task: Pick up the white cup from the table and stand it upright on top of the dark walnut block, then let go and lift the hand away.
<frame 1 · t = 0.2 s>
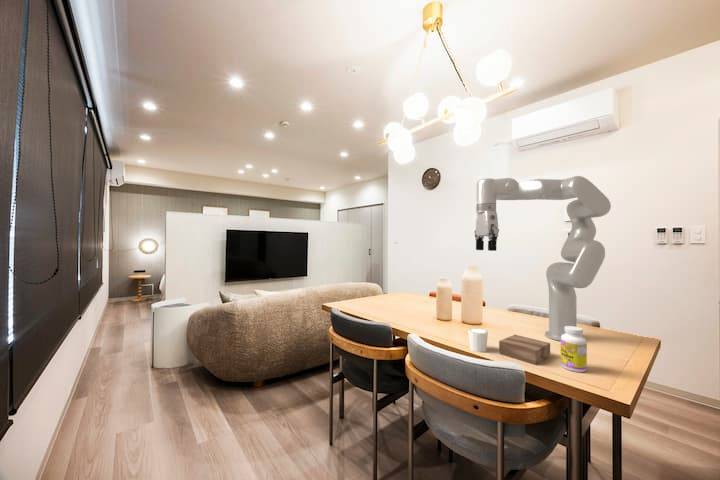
hand: (485, 250, 120), 37 cm above the table, tool pointing down, fingers open, 9 cm apart
supplement bottle: (573, 369, 92), on the table
white cup: (477, 349, 109), on the table
walnut block: (524, 356, 103), on the table
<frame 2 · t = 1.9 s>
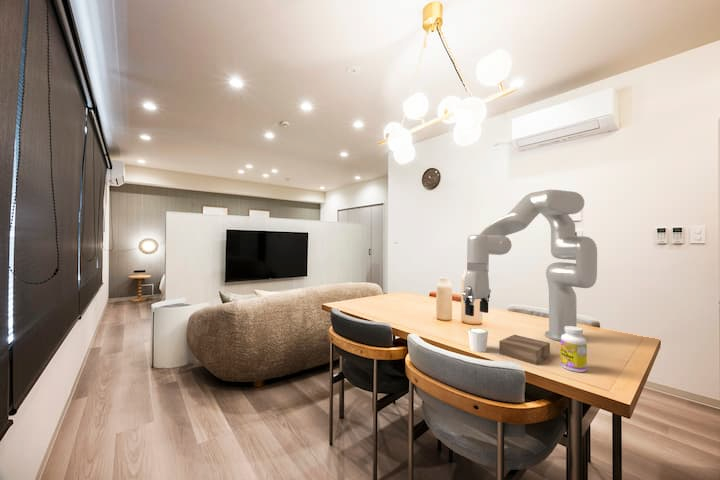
hand: (476, 313, 109), 13 cm above the table, tool pointing down, fingers open, 9 cm apart
nothing on the table moved.
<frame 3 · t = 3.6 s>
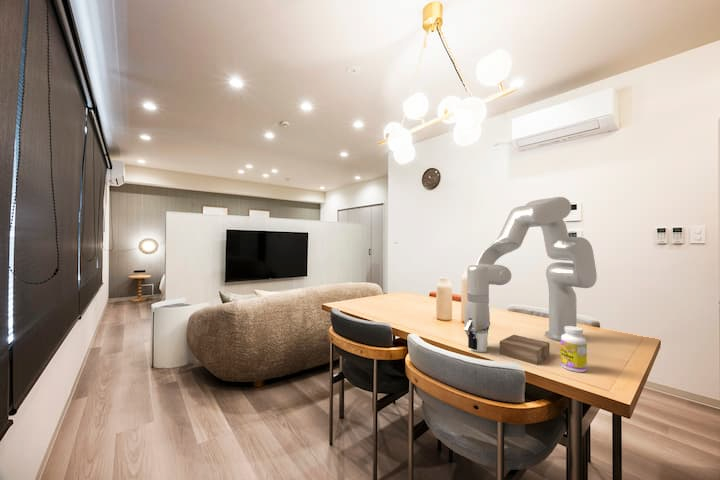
hand: (477, 346, 109), 1 cm above the table, tool pointing down, fingers closed on white cup, 6 cm apart
white cup: (477, 349, 109), on the table, touching gripper
everything else where it was.
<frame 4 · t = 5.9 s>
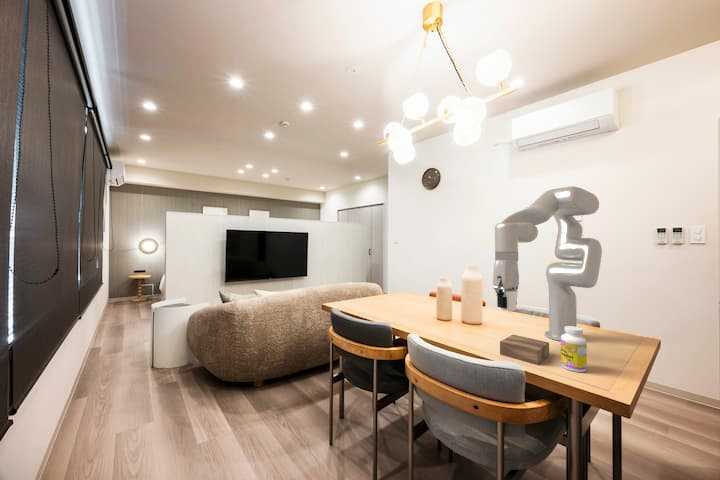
hand: (507, 305, 105), 17 cm above the table, tool pointing down, fingers closed on white cup, 6 cm apart
white cup: (507, 309, 105), point 16 cm above the table, touching gripper
everything else where it was.
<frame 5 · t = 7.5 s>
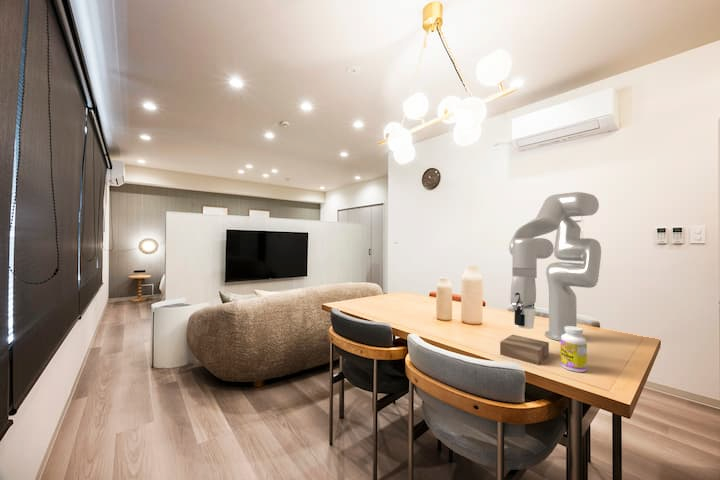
hand: (524, 323, 103), 11 cm above the table, tool pointing down, fingers closed on white cup, 6 cm apart
white cup: (524, 327, 103), point 10 cm above the table, touching gripper
everything else where it was.
when the fingers open (7 cm above the table, at t = 8.7 s): white cup drops 2 cm, point 4 cm above the table.
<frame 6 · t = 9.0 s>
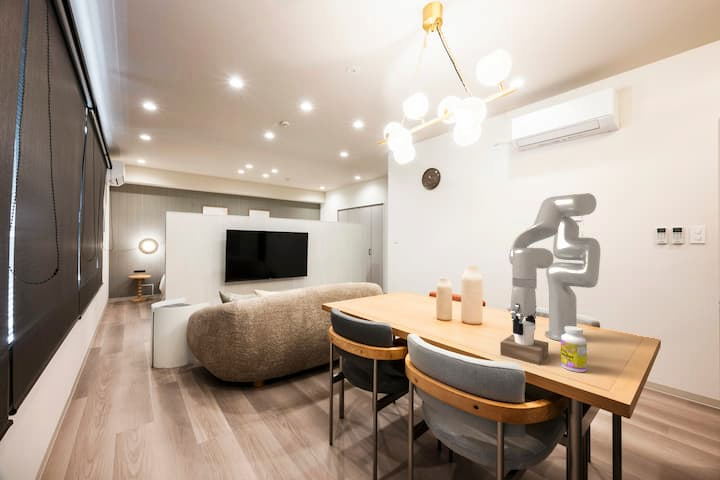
hand: (524, 331, 103), 8 cm above the table, tool pointing down, fingers open, 9 cm apart
white cup: (524, 343, 103), point 4 cm above the table
everything else where it was.
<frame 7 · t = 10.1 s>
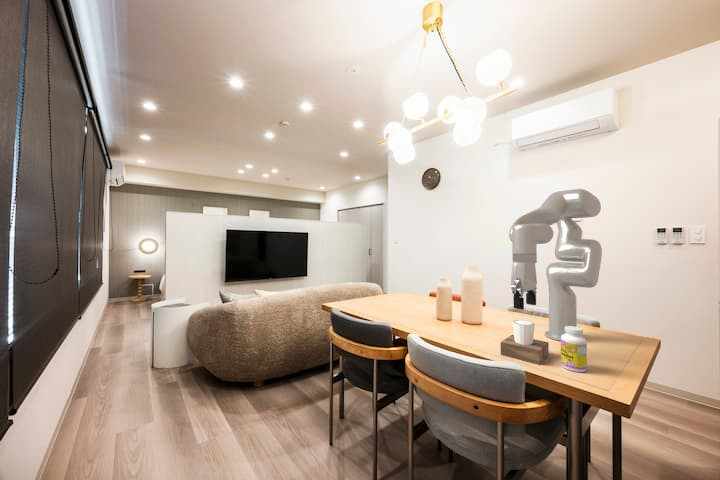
hand: (525, 306, 104), 17 cm above the table, tool pointing down, fingers open, 9 cm apart
nothing on the table moved.
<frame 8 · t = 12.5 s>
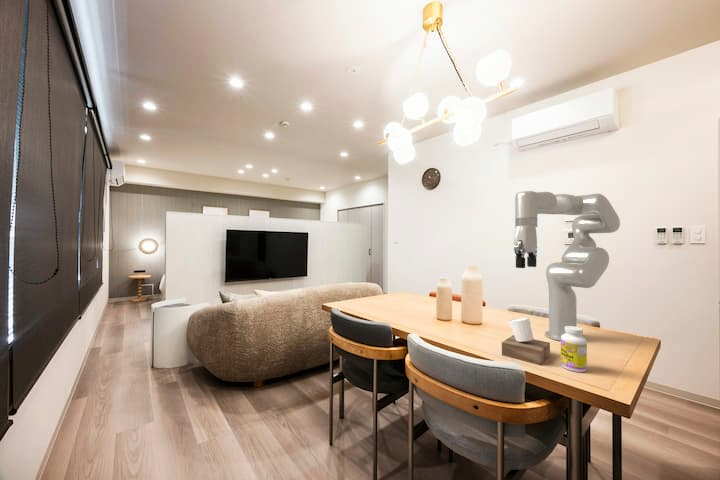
hand: (526, 267, 113), 30 cm above the table, tool pointing down, fingers open, 9 cm apart
white cup: (524, 340, 104), point 5 cm above the table
everything else where it was.
at the end: white cup inside the target area on the walnut block (0.5 cm from its centre), point 5.4 cm above the walnut block's base; white cup tilted 13°; the gripper is holding nothing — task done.
